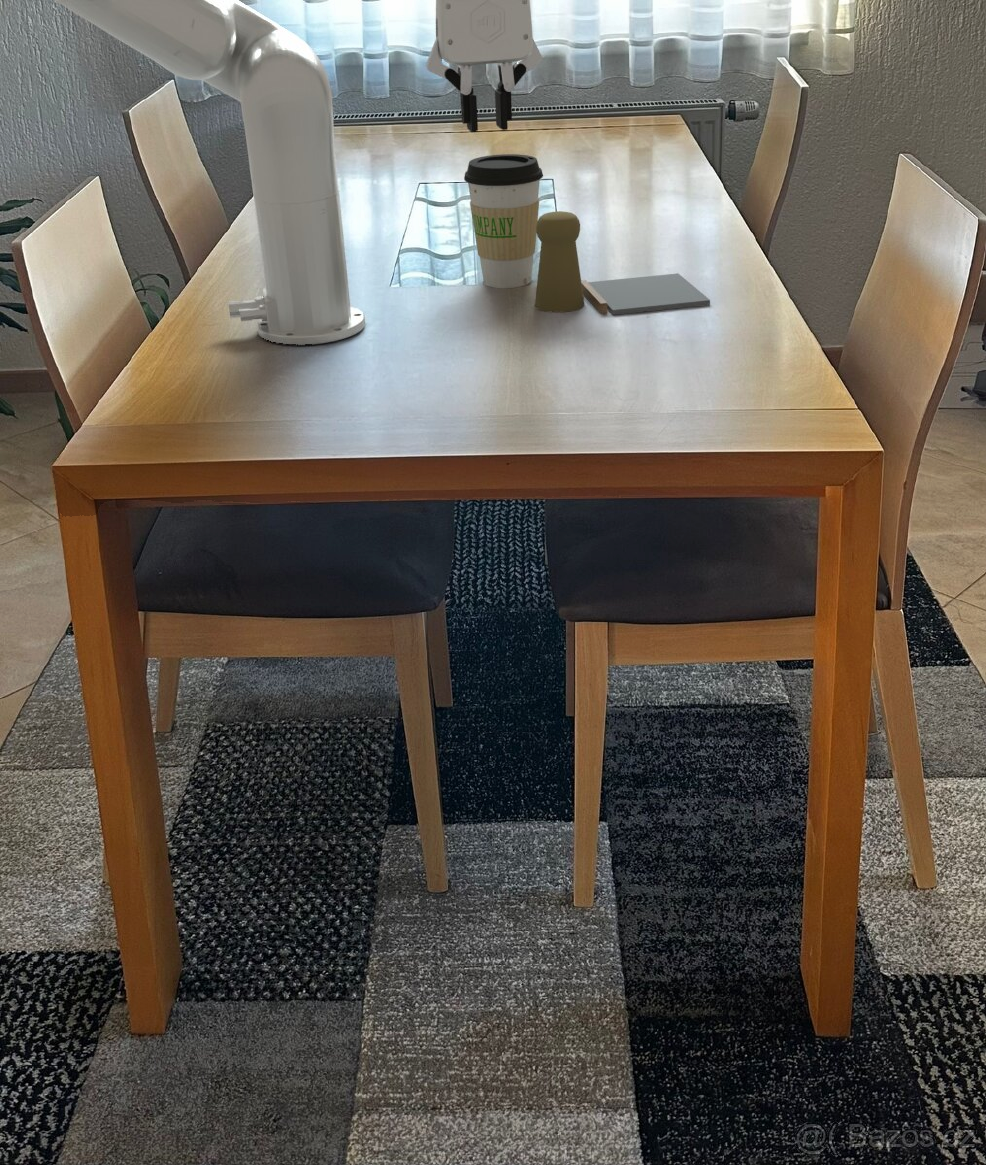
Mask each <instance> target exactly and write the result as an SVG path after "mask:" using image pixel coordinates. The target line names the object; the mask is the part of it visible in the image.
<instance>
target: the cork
mask: <svg viewBox="0 0 986 1165" xmlns="http://www.w3.org/2000/svg"><path fill="white" fill-rule="evenodd" d="M580 231H581V223H580V219H579V218H578V216H577V215H576V214H574V213H572V212H569V211H562V210H560V211H557V210H556V211H549V212H547V213H544V214H542V215H541V216H538V221H537V225H536V237H537V238H538V240H539V241H540V243H541V244H540V252H539V260H538V261H539V263H538V271H537V281H536V291H535V300H534V307H535V309H537V310H539V311H542V312H547V313H548V312H549V313H568V312H573V311H577V310H580V309H582V308H583V307H585V296H584V294H583V290H582V283H581V281H582V278H581V276H582V275H581V271H580V269H581V268H580V263H579V255H578V248H577V240H578V238H579V236H580Z"/></svg>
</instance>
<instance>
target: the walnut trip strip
mask: <svg viewBox="0 0 986 1165" xmlns="http://www.w3.org/2000/svg"><path fill="white" fill-rule="evenodd" d="M588 282H589V281H587V279H581V283H582V290H583V297H584V298H585V297H586V299H587V300H588V301H589V303H590V304H592V306H593V307H594V308H595V309H596V310H597V311H598V312H599V313H600V314H607V313H608V309H607V302H606V301H605V300H604V299H603V298H602V297H601V296H600V295H599V294H598V293H597V292H596V290H595V289H594V288H593V287H592V286H591V285H590V284H589V283H588Z"/></svg>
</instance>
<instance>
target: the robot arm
mask: <svg viewBox="0 0 986 1165" xmlns="http://www.w3.org/2000/svg"><path fill="white" fill-rule="evenodd" d="M55 1H56V2H57V3H58V4H60V5H62V6H63V7H65V8H66V9H68V10H69V11H71V12H72V13H74V14H76V15H77V16H79V17H81V18H83V19H84V20H85V21H87V22H89V23H91V24H93V25H94V26H96V27H97V28H99V29H101V30H102V31H104V32H105V33H106V34H108V35H110V36H111V37H113V38H115V39H116V40H119V41H120V42H122V43H123V44H125V45H126V46H128V47H130V48H132V49H133V50H135V51H137V52H138V53H141V54H142V55H144V56H145V57H147V58H149V59H151V60H152V61H154V62H155V63H157V64H158V65H160V67H163V68H164V69H165V70H166V71H169V72H170V73H172V74H173V75H175V76H177V77H179V78H183V79H185V80H192V81H200V80H201V81H203V82H204V83H206V84H208V85H210V86H212V87H213V88H215V89H216V90H219V91H220V92H221V93H224V94H225V95H227V96H229V97H230V98H232V99H234V100H236V101H238V102H239V103H240V107H241V115H242V121H243V127H244V134H245V140H246V147H247V149H246V150H247V156H248V164H249V172H250V179H251V187H252V188H251V189H252V194H253V196H252V197H253V201H254V206H255V209H254V210H255V214H256V223H257V229H258V230H257V231H258V239H259V247H260V253H261V260H262V261H261V262H262V268H263V276H264V284H265V285H264V286H265V288H262V290H263V295H258V296H255V299H251V300H245V301H244V300H232V301H228V302H227V304H228V309H229V310H228V311H229V317H230V319H236V318H240V321H241V322H247V321H253V320H259V321H258V322H257V325H256V326H257V332H258V335H259V336H260V337H261V338H262V339H263V338H264V339H263V340H265V339H266V340H265V341H267V340H269V341H268V342H270V341H271V342H270V343H273V342H276V343H275V344H279V343H283V344H282V345H286V344H296V345H295V346H306V345H305V344H312V345H321V344H327V343H332V342H338V341H341V340H343V339H347V338H350V337H352V336H354V335H356V334H358V333H359V332H361V331H362V330H363V329H364V328H365V326H366V316H365V313H364V312H363V311H361V310H360V309H358V308H356V307H353V306H351V298H350V287H349V280H348V269H347V267H348V266H347V258H346V257H347V256H346V246H345V239H344V236H345V235H344V227H343V218H342V215H343V214H342V209H341V208H342V207H341V206H342V205H341V197H340V196H341V195H340V190H339V180H338V179H339V178H338V169H337V156H336V144H335V142H336V141H335V131H334V130H335V128H334V107H333V106H334V105H333V95H332V90H331V85H330V84H331V83H330V80H329V76H328V73H327V71H326V69H325V67H324V64H323V62H322V60H320V58H319V57H318V55H317V54H316V52H315V51H314V50H313V49H312V47H311V46H310V45H309V44H308V43H307V42H305V41H304V40H303V39H301V38H300V37H299V36H298V35H296V34H294V33H292V32H291V31H289V30H287V29H286V28H284V27H283V26H280V25H279V24H277V23H276V22H275V21H273V20H271V19H269V18H268V17H266V16H264V15H263V14H261V13H259V12H257V11H256V10H255V9H253V8H251V7H249V6H248V5H246V4H244V3H243V2H242V1H240V0H55ZM442 60H443V61H444V62H445V63H446V64H449V65H452V66H456V70H455V69H453V68H452V67H449V66H447V65H445V64H443V61H442ZM513 63H514V64H513ZM542 63H543V55H542V54H541V52H540V49H539V47H538V45H537V44H536V42H535V40H534V36H533V24H532V11H531V2H530V0H435V40H434V43H433V45H432V48H431V50H430V53H429V56H428V58H427V61H426V64H425V68H426V70H427V71H428V72H430V73H432V74H434V75H437V76H439V77H441V78H443V79H446V80H447V81H449V83H450V84H451V85H452V86H453V87H455V88H456V89H457V90H458V91H459V93H460V111H461V113H460V114H461V115H460V117H461V122H462V125H466V127H467V130H468V131H469V132H471V133H476V132H477V131H478V130H479V128H478V127H479V126H478V125H479V124H478V122H479V121H478V102H477V101H478V100H477V95H476V94H475V93H474V87H472V82H473V79H472V77H473V76H472V75H473V66H476V65H491V64H492V65H493V64H496V68H497V76H498V83H497V87H496V90H494V101H495V123H496V124H495V125H496V126H497V127H498V128H499V129H500V130H502V131H508V121H512V120H513V112H512V110H513V109H512V104H513V103H512V91H513V90H514V89H515V87H516V85H517V84H518V83H519V82H520V80H521V79H522V78H523V77H524V76H525V74H526V73H527V72H529V71H531V70H534V68H536V67H537V66H539V65H541V64H542ZM297 344H298V345H297Z"/></svg>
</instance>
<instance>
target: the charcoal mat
mask: <svg viewBox="0 0 986 1165" xmlns="http://www.w3.org/2000/svg"><path fill="white" fill-rule="evenodd" d="M587 282H588V283H589V284H590V285H591V286H592V287H593V288H594V289H595V290H596V292H597V293H598V294H599V295H600V296H601V297H602V298H603V299H604V300H605V301H606V302H607V311H608V312H609V313H610V314H611V315H612V316H615V315H624V314H626V315H627V314H634V313H645V312H644V311H647V312H654V311H655V310H656V311H662V309H666V310H675V309H674V308H676V309H683V308H685V307H686V308H694V307H695V308H696V307H703V306H704V307H705V306H710V305H711V300H710V298H709V297H707V296H706V295H705V294H704V293H703V292H701V291H700V290H699V289H698V288H697V287H696V286H694V285H693V284H692V283H691V282H689V281H688V280H687V279H686V278H685V277H683V276H682V275H681V274H680V273H678V272H677V273H668V274H658V275H657V274H656V275H649V276H639V277H638V276H637V277H629V278H628V277H626V278H618V279H617V278H616V279H609V280H607V279H606V280H598V281H587ZM652 310H653V311H652ZM656 311H655V312H656Z"/></svg>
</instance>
